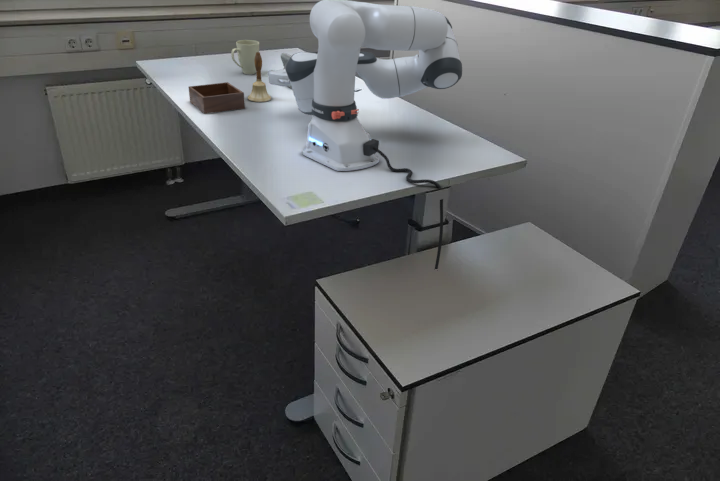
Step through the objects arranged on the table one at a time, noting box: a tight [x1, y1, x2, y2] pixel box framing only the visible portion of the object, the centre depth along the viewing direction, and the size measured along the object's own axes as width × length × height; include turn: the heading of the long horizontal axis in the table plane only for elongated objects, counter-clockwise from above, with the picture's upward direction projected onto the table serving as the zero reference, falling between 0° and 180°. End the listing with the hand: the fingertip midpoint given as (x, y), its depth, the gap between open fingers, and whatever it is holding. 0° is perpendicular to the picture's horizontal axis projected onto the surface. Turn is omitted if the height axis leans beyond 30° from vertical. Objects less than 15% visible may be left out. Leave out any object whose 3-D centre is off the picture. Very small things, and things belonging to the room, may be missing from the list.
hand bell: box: [247, 51, 272, 103], centre depth 193 cm, size 8×8×16 cm
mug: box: [230, 39, 260, 76], centre depth 222 cm, size 11×10×12 cm
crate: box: [188, 81, 246, 115], centre depth 187 cm, size 14×14×5 cm
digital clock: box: [280, 52, 293, 90], centre depth 212 cm, size 16×9×11 cm, turn 20°
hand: (280, 70), depth 184 cm, fingers open, 8 cm apart
